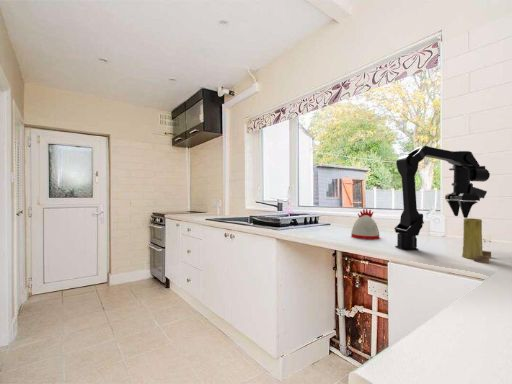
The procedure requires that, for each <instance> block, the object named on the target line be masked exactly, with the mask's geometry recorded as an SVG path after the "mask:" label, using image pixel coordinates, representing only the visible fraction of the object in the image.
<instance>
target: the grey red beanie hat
mask: <svg viewBox="0 0 512 384" xmlns="http://www.w3.org/2000/svg"><path fill="white" fill-rule="evenodd" d="M359 212H360V213H359ZM359 212H358V213H357V216H358V218H357V219H356V220H355V221H354V223H353V225H352V228H351V233H350V234H351V237H352V238H355V239H362V240H378V239H380V231H379V228H378V224H377V223H376V221H375V220H374V219H373V218H372V217H373V215H374V211H372V209H369V211H368V209H366V210H365V209H364V208H363V209H362V211H361V210H360V211H359Z"/></svg>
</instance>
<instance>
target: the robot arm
mask: <svg viewBox="0 0 512 384" xmlns="http://www.w3.org/2000/svg"><path fill="white" fill-rule="evenodd" d="M425 157H426V158H430V159H436V160H441V161H445V162H447V163H448V164H450V165H452V166H451V167H450V168H448V170H449V171H453V182H452V183H451V186H453V187H452V188H453V190H452V191H453V192H450V193H447V194H445V195H444V197H445V199H444V200H446V202H447V204H448V206H449V207H450V209H451V211H452V213H453V216H454V217H458V216H459V213H460V211H461V214H462V216H463V219H465V218H468V217H469V214H470V212H471V209H472V207H473V206H474V205H476V204H478V202H480V201H481V199H485V198H486V194H487V192H488V191H487V190H484V189H481V188H479V187H474V184H473V182H481V183H482V182H486V181H488V180H489V179H490V176H491V173H490V171H489V170H488V169H487V168H486V166H485V165H480V164H479V161H478V160H477V159H476V158H475V156H474V154H473V152H472V151H469V150H457V151H453V150H446V149H441V148H436V147H431V146H428V145H422V146H417V148H415V149H414V150H412V151H411V152H408V153H407V154H405V155H402V156H400V157H398V158H397V159H396V164H395V165H396V169H397V171H398V173H399V176H400V177H401V185H402V187H401V189H402V201H403V202H402V203H403V204H402V205H403V211H401V212H402V213H401V214H400V219H399V223H398V224H397V225H395V226H394V232H395V234H396V233H397V239H396V241H397V242H396V243H397V245H395V246H394V247H395V248H397V249H400V250H403V251H418V250H419V248H417V247H418V245H417V244H418V243H417V242H418V238H417V236H420V235H419V234H420V232H421V229H423V226H424V224H425V221H424V214H423V213H419V211H418V209H417V208H418V206H417V194H416V191H417V189H416V173H417V172H418V171H419V170H418V169H419V163H420V162H421V161H423V160H424V159H425Z"/></svg>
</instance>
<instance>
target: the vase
mask: <svg viewBox="0 0 512 384" xmlns="http://www.w3.org/2000/svg"><path fill="white" fill-rule="evenodd" d="M482 223H483V221H482V219H480V218H468V217H467V218H463V234H462V235H463V236H462V237H463V238H462V239H463V240H462V241H463V242H462V243H463V245H462V255H461V257H463V258H465V259H470V260H474V255H481V256H483V253H482V251H483V233H482V232H483V228H482V227H483V225H482Z"/></svg>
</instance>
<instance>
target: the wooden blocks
mask: <svg viewBox="0 0 512 384" xmlns="http://www.w3.org/2000/svg"><path fill="white" fill-rule="evenodd" d="M482 253H483V256H481V255H474V259H473V262H478V263H486V264H490V258H492V251H487V250H482Z"/></svg>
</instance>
